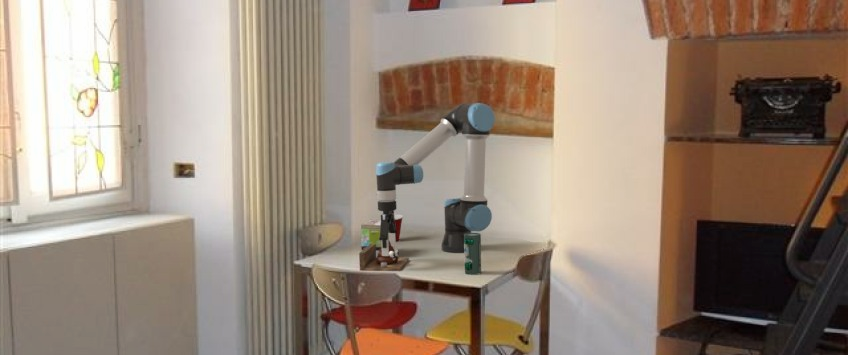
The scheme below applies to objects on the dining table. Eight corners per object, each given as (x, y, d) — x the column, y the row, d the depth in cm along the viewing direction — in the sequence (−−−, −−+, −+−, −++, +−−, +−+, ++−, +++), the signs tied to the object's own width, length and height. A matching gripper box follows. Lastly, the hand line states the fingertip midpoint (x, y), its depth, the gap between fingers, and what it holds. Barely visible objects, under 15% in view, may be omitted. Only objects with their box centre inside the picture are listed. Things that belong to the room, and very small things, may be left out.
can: (464, 271, 289) (463, 233, 288) (479, 270, 289) (479, 232, 288) (466, 274, 283) (465, 235, 282) (481, 274, 283) (481, 235, 282)
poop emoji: (385, 259, 309) (384, 237, 308) (403, 261, 305) (402, 238, 304) (372, 264, 301) (371, 241, 300) (389, 266, 297) (389, 243, 296)
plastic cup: (376, 241, 355) (375, 216, 354) (391, 238, 364) (390, 213, 363) (394, 243, 349) (393, 218, 348) (408, 240, 357) (407, 215, 356)
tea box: (383, 259, 316) (382, 224, 314) (361, 258, 318) (359, 224, 316) (392, 252, 330) (391, 218, 329) (370, 251, 332) (369, 218, 331)
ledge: (408, 260, 312) (408, 243, 311) (399, 271, 292) (399, 253, 291) (371, 259, 314) (371, 243, 314) (359, 270, 295) (359, 253, 294)
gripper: (384, 196, 313) (386, 246, 315) (370, 205, 289) (372, 258, 291) (402, 196, 312) (404, 246, 314) (389, 204, 287) (391, 258, 290)
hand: (389, 252), depth 303 cm, fingers open, 13 cm apart
